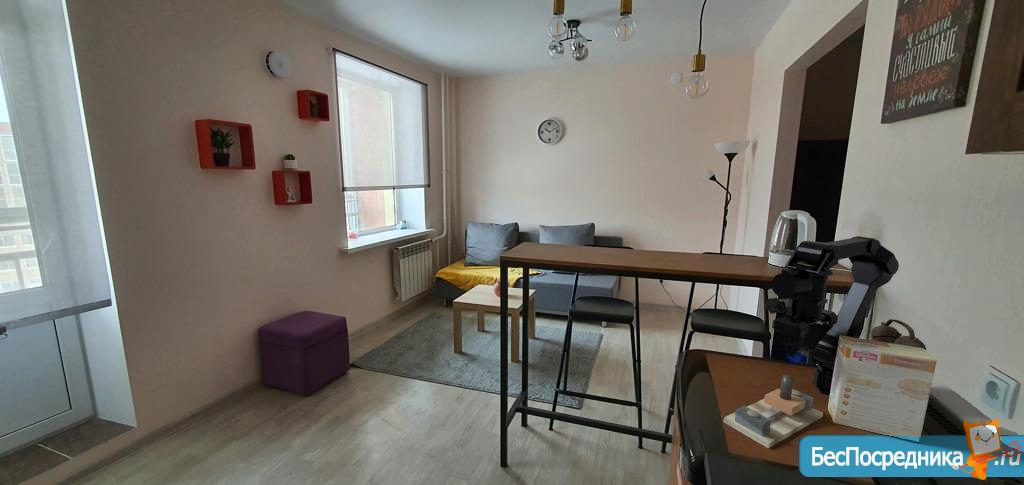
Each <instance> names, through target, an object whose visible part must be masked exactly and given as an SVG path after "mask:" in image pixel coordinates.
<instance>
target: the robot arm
mask: <svg viewBox="0 0 1024 485" xmlns="http://www.w3.org/2000/svg"><path fill="white" fill-rule="evenodd" d="M844 259H849V261H850V263H851V264H852V265H851V268H850V270H851V275H852V279H853V281H852V284H851V286H850V289H849V290H848V292H847V295H846V297H845V298H844V301H843V303H842V305H841V306H840V309H839V312H837V313H835V312H834V311H832V310H828V309H823V308H824V305H826V304H828V300H829V299H828V298H825V295H826V290H827V289H826V288H827V285H828V284H827V283H828V277H829V276H833V274H834V273H833V271H832V270H831V268H833V267H835V266H837V265H838V264H839V261H840V260H844ZM899 266H900V263H899V261H898V259H897V257H896V255H895V254H894V253H893V252H892V251H890V250H889V249H888V248H886V247H885V246H883V245H882V244H881V242H880V241H879V240H878V239H876V238H875V237H868V236H859V235H857V236H856V235H855V236H852V237H851V238H849V237H848V238H845V239H838V240H834V241H829V242H824V241H823V242H819V241H813V240H804V241H801V242H800V243H799V244H798V245H797V246H796V247H795V249H794V251H793V253H792V254H791V255H790V257H789V258H788V260H787V262H786V263H785V264H784V267H783V268H782V269H781V273H778V274H776V275H775V276H774V277H773V278H772V279H771V282H770V287H771V290H772V291H773V293H774V294H775V295H776V296H778V297H779V298H777V297H774V298H773V297H769V298H767V299H766V302H765V305H764V308H765V309H766V310H767V311H768V312H769V314H771V315H772V314H773V315H775V314H779V313H780V314H781V313H783V314H785V315H783V316H779V317H777V318H775V319H772V326H771V328H772V329H773V330H775V331H776V332H778V333H780V335H781V336H782V338H783V341H784V345H785V349H786V353H787V356H788V358H791V359H793V358H795V356H796V355H797V354H798V352H799V350H800V349H801V347H802V346H803V344H804V342H805V341H806V347H807V349H808V350H810V356H811V363H812V364H816V365H817V368H815V369H814V373H813V379H812V383H813V384H814V386H815V387H816V389H817V390H818V391H819V393H821V394H827V395H830V391H831V385H832V379H833V372H834V366H835V360H836V355H837V348H838V342H839V337H840V335H841V336H847V337H853V338H855V336H856V333H857V331H858V328H859V327H860V326H861V323H862V321H863V318H864V316H865V314H866V313H867V311H868V308H869V306H870V305H871V302H872V300H873V297H874V295H875V294H876V291H877V290H878V289H879V288H881V287H882V286H884V285H886V284H888V283H890V282H891V280H892V278H893V276H894V275H895V274H897V272H898V271H899V268H900V267H899Z"/></svg>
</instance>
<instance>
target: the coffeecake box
mask: <svg viewBox="0 0 1024 485" xmlns="http://www.w3.org/2000/svg"><path fill="white" fill-rule="evenodd" d="M937 362H938V361H937V359H935V357H934V356H932V355H931V354H930V353H929V352H928V350H927V349H926V350H925V349H923V348H918V347H912V346H905V345H898V344H892V343H886V342H879V341H873V340H871V339H865V338H860V337H859V338H858V337H854V338H853V337H847V336H841V335H840V337H839V342H838V348H837V355H836V360H835V366H834V372H833V379H832V385H831V391H830V394H829V397H828V404H827V410H828V412H829V414H830V417H831V419H832V422H833V423H834V424H838V425H842V426H845V427H846V426H847V427H851V428H854V429H855V428H856V429H860V430H863V431H867V432H871V433H876V434H881V435H884V436H887V435H889V437H891V436H909V437H920V438H921V436H922V432H923V427H924V424H925V418H926V413H927V408H928V405H929V399H930V394H931V389H932V385H933V380H934V375H935V370H936V365H937Z"/></svg>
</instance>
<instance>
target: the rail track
mask: <svg viewBox="0 0 1024 485" xmlns="http://www.w3.org/2000/svg"><path fill="white" fill-rule="evenodd" d="M792 395H794V396H796V397H798V398H801V399H803V400H805V401H806V402H805V408H804V409H803V410H801V411H799V412H797V413H795V414H793V415H789V414H787V413H785V412H782V411H780V410H778V409H776V408H774V407H772V406H770V405H768V404H766V403H764V398H763V399H760V400H758V401H757V402H754V403H752V404H750V405H748V406H746V405H743V406H742V405H741V406H740V407H738V408H736V410H735V411H734V412H733V413H731V414H728V415H726V416H724V417H723V424H725V425H727V426H729V427H731V428H732V429H734V430H736V431H738V432H740V433H741V434H743V435H744V436H746V437H748V438H749V439H752V440H753V441H755V442H756V443H758V444H759V445H761V446H764V447H765V448H767V449H769V448H771V447H774V446H775V445H777V444H779V443H780V442H782V441H784V440H786V439H787V438H789V437H791V436H792V435H794V434H796V433H797V432H799V431H801V430H802V429H804V428H806V427H808V426H809V425H811V424H813V423H815V422H816V421H818V420H820V419H821V418H823V414H824V412H823V411H821V410H818V409H817V408H814V407H813V401H814V397H812V396H809V395H807V394H805V393H803V392H802V391H799V390H797V389H793V388H792Z"/></svg>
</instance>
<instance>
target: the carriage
mask: <svg viewBox="0 0 1024 485" xmlns="http://www.w3.org/2000/svg"><path fill="white" fill-rule="evenodd" d="M794 380H795V378H794V377H793V376H791V375H788V374H782V378H781V384H780V388H777V389H774V390H772V391H770V392H768V393H766V394H764V398H763V399H764V403H766V404H768V405H770V406H772V407H774V408H776V409H778V410H780V411H782V412H785V413H787V414H789V415H793V414H795V413H797V412H799V411H801V410H803V409H804V408H805V402H806V401H805V400H803V399H801V398H798V397H796V396H794V395H792V389H793V386H794Z"/></svg>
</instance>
